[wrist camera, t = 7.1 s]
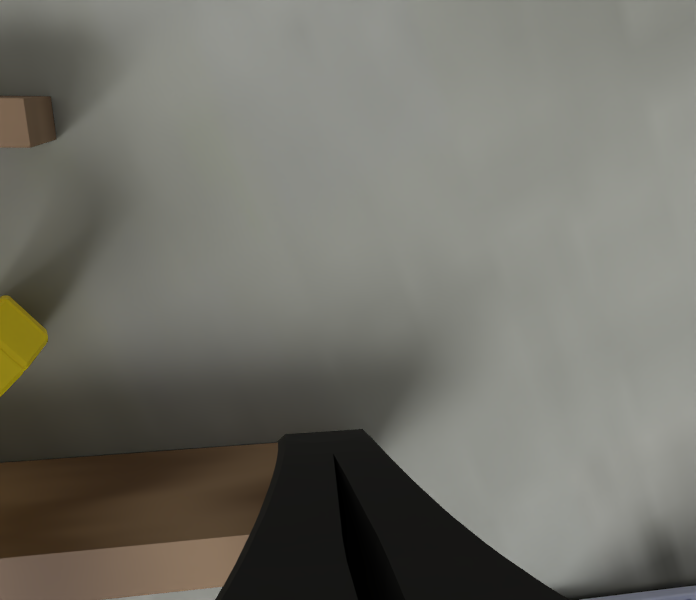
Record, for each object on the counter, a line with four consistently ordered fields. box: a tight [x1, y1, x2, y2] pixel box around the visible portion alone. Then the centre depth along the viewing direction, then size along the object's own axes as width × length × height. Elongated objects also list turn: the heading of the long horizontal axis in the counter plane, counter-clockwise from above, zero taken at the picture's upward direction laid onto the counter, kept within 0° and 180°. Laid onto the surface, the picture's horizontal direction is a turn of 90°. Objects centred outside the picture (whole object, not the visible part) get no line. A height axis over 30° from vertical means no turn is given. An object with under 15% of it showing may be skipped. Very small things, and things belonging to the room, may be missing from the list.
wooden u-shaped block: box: [0, 96, 278, 600], centre depth 15 cm, size 16×12×4 cm
